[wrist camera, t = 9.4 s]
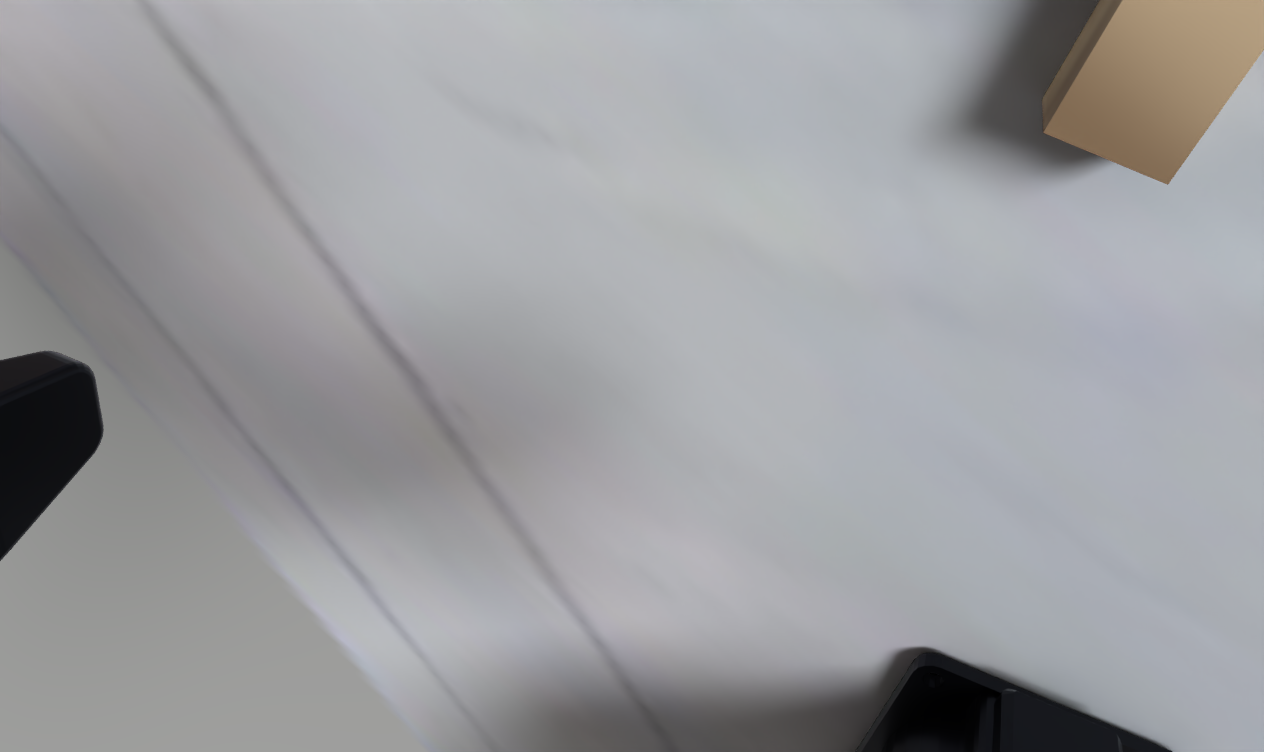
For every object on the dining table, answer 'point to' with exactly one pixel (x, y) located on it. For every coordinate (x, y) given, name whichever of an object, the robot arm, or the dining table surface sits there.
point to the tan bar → (1152, 78)
